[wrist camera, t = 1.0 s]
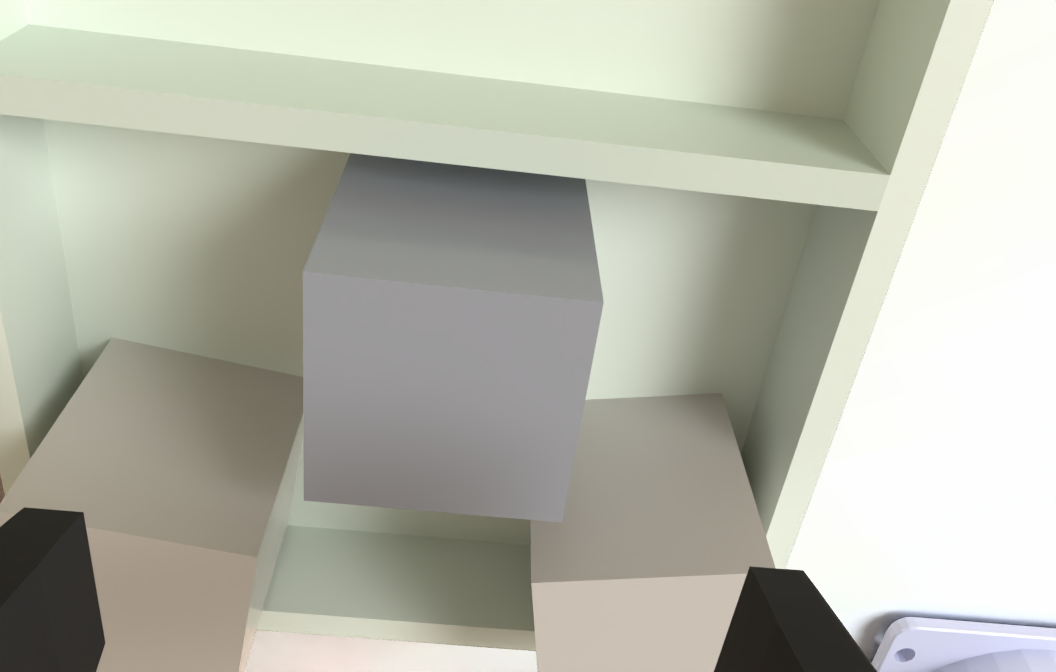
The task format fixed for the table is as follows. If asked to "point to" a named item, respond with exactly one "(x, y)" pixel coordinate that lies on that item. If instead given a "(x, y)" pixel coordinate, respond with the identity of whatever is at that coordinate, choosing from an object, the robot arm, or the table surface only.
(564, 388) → the grey rectangular block
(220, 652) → the white block
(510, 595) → the tray
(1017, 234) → the table surface
